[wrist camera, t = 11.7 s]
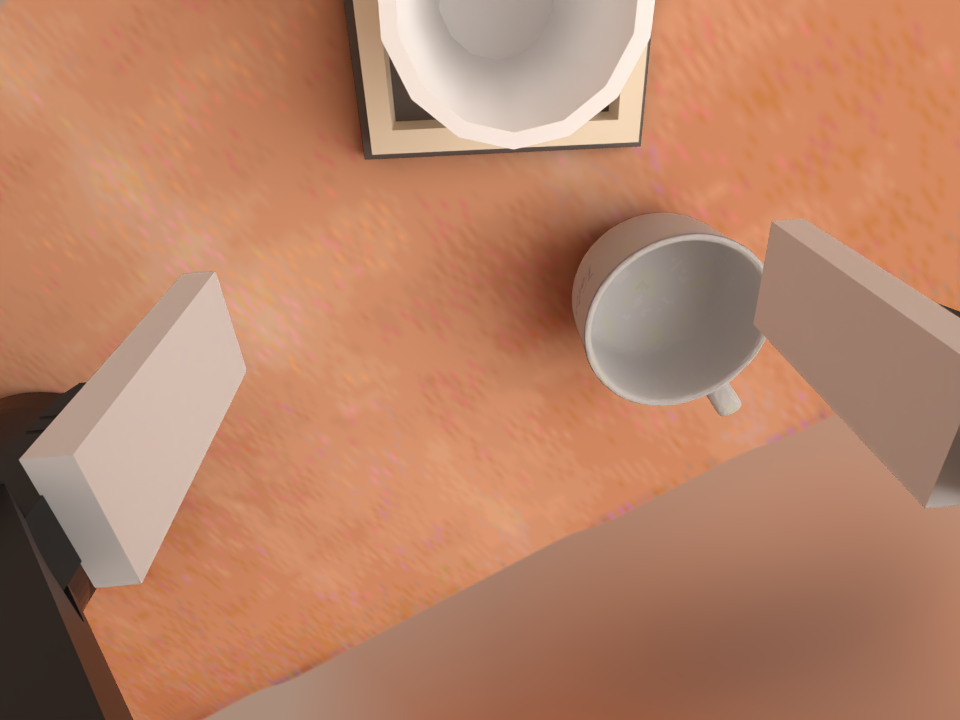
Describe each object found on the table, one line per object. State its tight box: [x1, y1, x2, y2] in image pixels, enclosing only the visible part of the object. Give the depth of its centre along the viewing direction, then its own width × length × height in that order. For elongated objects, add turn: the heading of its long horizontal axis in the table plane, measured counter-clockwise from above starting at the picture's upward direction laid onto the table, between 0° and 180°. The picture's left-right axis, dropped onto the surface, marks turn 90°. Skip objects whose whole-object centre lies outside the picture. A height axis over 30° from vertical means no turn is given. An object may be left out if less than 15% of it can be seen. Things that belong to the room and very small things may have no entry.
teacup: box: [572, 212, 766, 416], centre depth 39 cm, size 14×11×8 cm
